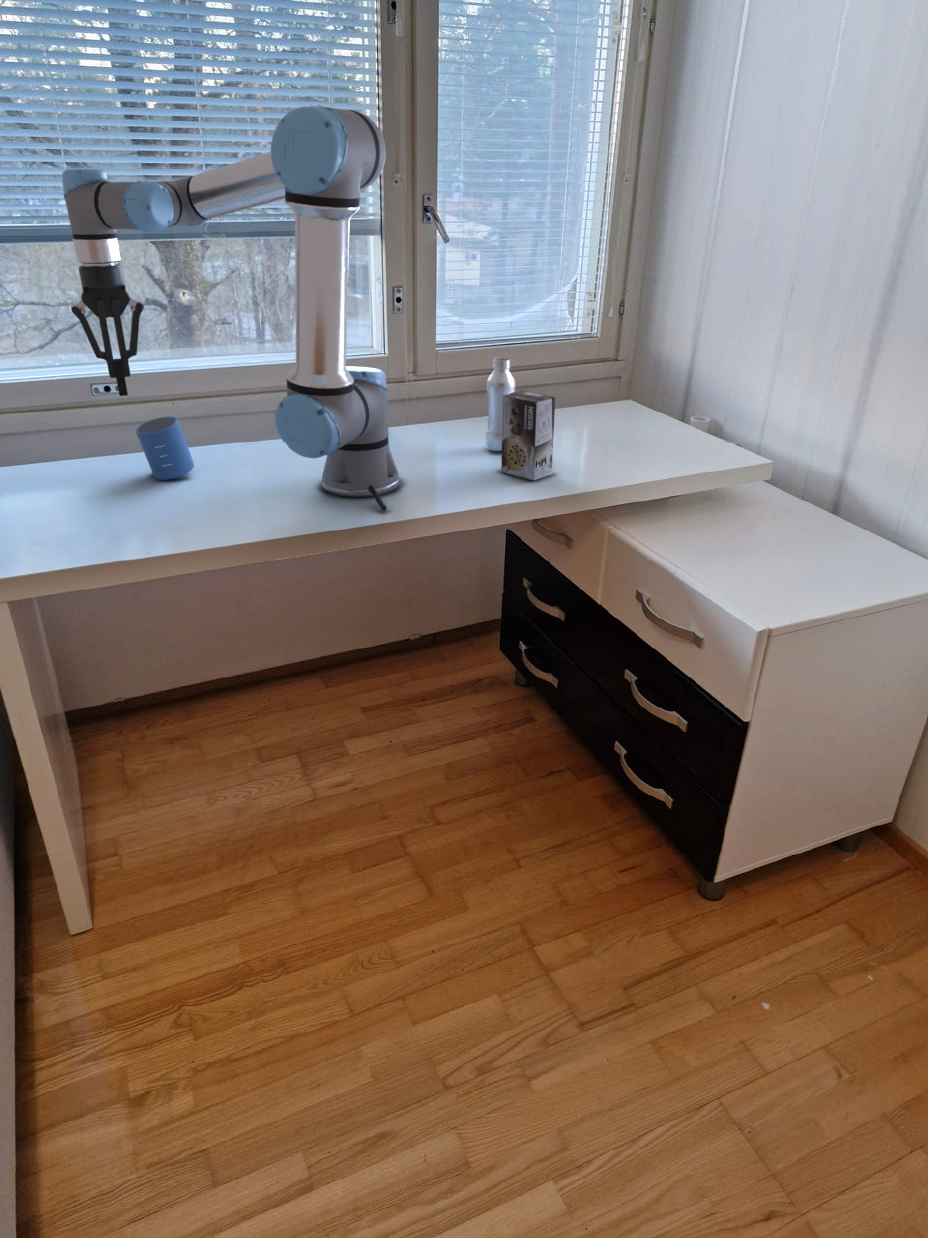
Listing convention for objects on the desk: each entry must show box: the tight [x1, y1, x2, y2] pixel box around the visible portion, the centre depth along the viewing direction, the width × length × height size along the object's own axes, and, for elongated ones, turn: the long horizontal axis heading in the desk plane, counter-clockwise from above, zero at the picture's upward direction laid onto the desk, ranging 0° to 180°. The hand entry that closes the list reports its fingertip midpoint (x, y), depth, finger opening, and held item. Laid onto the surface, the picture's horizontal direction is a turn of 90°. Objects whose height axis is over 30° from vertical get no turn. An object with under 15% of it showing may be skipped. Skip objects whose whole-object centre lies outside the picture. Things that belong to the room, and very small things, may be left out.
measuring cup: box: [135, 416, 195, 481], centre depth 176 cm, size 10×8×8 cm
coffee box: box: [500, 389, 556, 481], centre depth 177 cm, size 9×6×16 cm
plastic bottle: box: [485, 357, 517, 452], centre depth 191 cm, size 6×7×20 cm
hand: (123, 393), depth 169 cm, fingers closed
